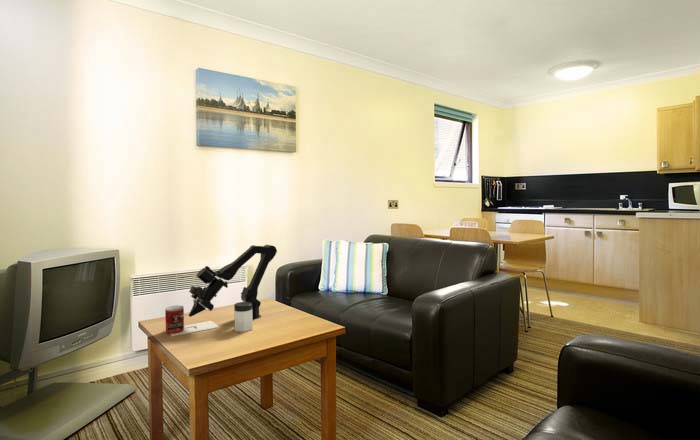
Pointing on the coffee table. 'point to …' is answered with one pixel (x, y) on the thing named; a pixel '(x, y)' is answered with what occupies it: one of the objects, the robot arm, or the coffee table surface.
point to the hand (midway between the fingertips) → (189, 316)
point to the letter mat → (197, 327)
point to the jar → (243, 316)
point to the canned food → (174, 319)
